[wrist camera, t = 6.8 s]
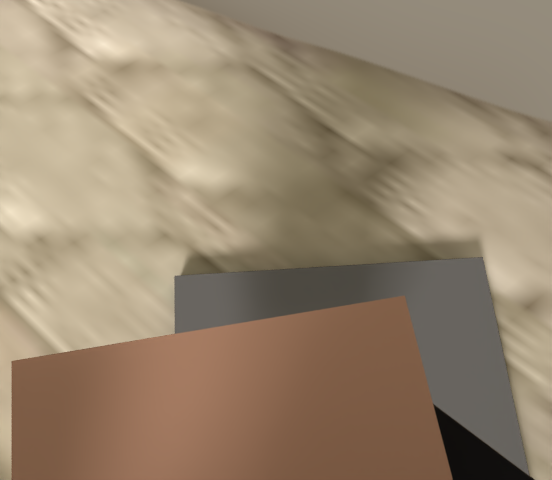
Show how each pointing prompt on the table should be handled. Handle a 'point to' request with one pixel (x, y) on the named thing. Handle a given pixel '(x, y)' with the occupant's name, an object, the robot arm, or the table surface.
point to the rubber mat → (423, 312)
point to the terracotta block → (236, 404)
